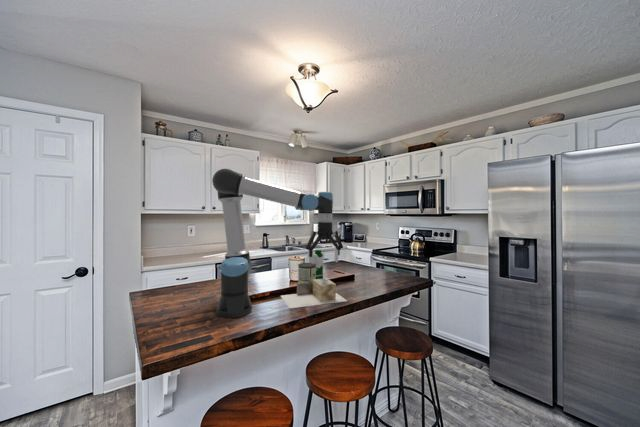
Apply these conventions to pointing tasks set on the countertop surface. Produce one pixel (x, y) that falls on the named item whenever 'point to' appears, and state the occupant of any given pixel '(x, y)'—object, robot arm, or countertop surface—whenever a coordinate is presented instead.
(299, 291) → the ledge rail
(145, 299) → the countertop surface
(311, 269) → the coffee can
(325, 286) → the beige rounded block
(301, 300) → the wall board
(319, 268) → the milk carton
